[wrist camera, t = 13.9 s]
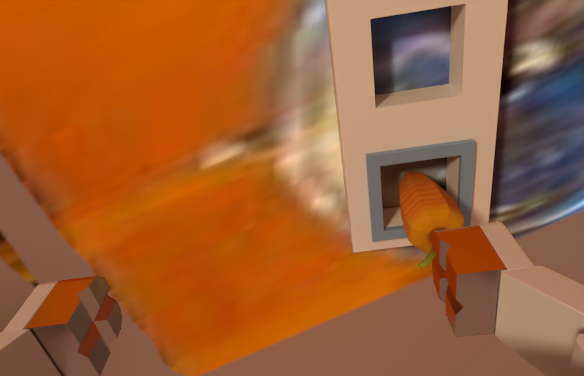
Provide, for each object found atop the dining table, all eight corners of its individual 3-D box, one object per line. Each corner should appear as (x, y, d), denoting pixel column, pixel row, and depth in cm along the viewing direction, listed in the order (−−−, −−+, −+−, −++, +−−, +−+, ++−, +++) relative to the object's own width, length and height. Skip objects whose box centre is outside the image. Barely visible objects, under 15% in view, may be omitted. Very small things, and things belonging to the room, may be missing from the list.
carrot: (422, 198, 47) (470, 296, 33) (379, 189, 46) (410, 283, 33) (440, 158, 44) (499, 245, 31) (394, 147, 44) (435, 232, 31)
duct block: (492, -45, 35) (515, -43, 32) (474, 217, 48) (489, 239, 44) (322, -16, 36) (326, -11, 33) (349, 233, 49) (354, 256, 45)
